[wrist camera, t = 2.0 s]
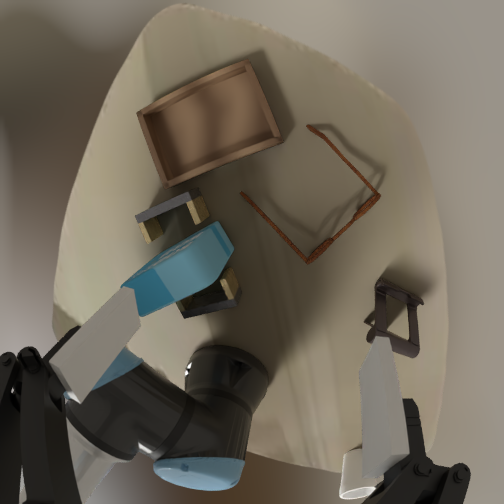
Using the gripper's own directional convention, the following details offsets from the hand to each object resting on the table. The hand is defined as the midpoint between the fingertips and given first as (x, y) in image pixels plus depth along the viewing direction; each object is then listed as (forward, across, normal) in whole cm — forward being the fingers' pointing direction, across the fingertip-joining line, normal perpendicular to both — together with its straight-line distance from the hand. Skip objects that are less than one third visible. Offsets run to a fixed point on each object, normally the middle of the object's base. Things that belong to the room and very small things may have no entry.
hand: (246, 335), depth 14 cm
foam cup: (+21, -28, +59) cm, 69 cm away
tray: (+25, +12, -10) cm, 29 cm away
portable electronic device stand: (+25, -18, +13) cm, 33 cm away
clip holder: (+23, +13, +8) cm, 28 cm away
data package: (+23, +13, +8) cm, 28 cm away
